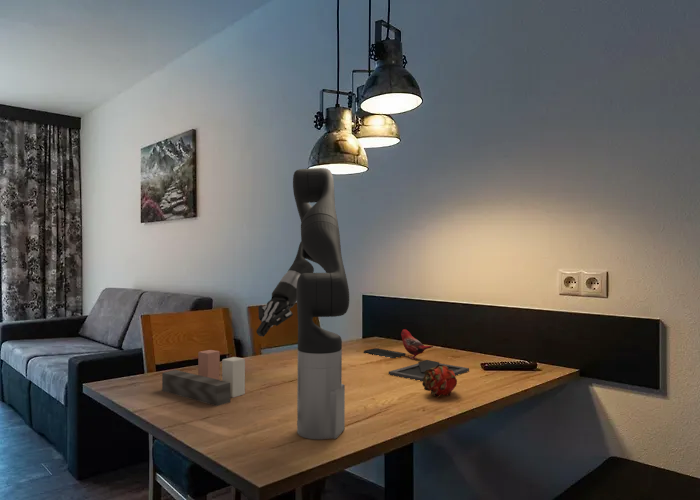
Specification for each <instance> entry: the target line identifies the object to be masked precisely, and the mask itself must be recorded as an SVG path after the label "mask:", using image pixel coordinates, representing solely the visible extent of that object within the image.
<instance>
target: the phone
mask: <svg viewBox="0 0 700 500" xmlns="http://www.w3.org/2000/svg"><path fill="white" fill-rule="evenodd" d="M366 353H369V354H368V355H371V354H374V356H377V355H379V356H378V357H382V356H385V357H384V358H387V357H390V358H389V359H397V358H396V357H398V358H400V356H403V357H406V356H405V355H406V354H407V353H406V352H399V351H394V350H388V349H383V348H378V347H377V348H375V347H374V348H371V349H365V350H363V354H366Z"/></svg>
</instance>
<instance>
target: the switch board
mask: <svg viewBox="0 0 700 500" xmlns="http://www.w3.org/2000/svg"><path fill="white" fill-rule="evenodd" d="M161 379H162V381H161V383H162V385H161V387H162V388H161V389H162V392H164V393H168V394H172V395H176V396H179V397H181V398H182V397H183V398H186V399H190V400H194V401H197V402H201V403H204V404H208V405H212V406H215V407H219V406H222V405H226V404H230V403H231V397H230V382H226V381H222V379H220V380H217V379H213V378H209V377H204V376H200V375H198V374H195V373H190V372H186V371H183V370H182V371H181V370H176V369H175V370H174V369H173V370H169V371H164V372H162V378H161Z"/></svg>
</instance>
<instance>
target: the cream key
mask: <svg viewBox="0 0 700 500" xmlns="http://www.w3.org/2000/svg"><path fill="white" fill-rule="evenodd" d="M221 369H222V370H221V372H222V373H221V378H222V379H221V380H222V381H226V382H230V398H236V397H239V396H242V395H245V394H246V391H245V390H246V376H245V375H246V359H245V358H242V357H239V356H238V357H237V356H232V357H231V356H230V357H228V358H223V359H222V360H221Z"/></svg>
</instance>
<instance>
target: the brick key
mask: <svg viewBox="0 0 700 500" xmlns="http://www.w3.org/2000/svg"><path fill="white" fill-rule="evenodd" d="M197 353H198V354H197V355H198V357H197V358H198V361H197V362H198V365H197V367H198V368H197V369H198V370H197V371H198V372H197V373H198V374H197V375H200V376H204V377H209V378H213V379H217V380H221V378H220V375H221V373H220V365H221V363H220V360H221V359H220V355H221V354H220V353H221V352H220V351H219V350H213V349H207V350H202V351H198V352H197Z"/></svg>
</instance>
